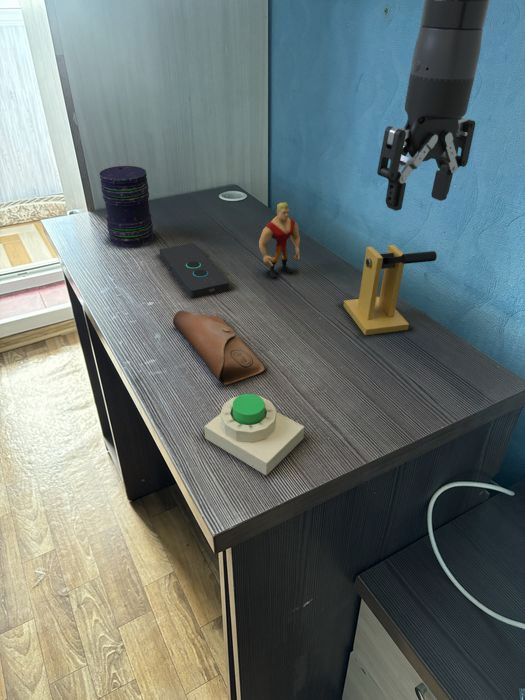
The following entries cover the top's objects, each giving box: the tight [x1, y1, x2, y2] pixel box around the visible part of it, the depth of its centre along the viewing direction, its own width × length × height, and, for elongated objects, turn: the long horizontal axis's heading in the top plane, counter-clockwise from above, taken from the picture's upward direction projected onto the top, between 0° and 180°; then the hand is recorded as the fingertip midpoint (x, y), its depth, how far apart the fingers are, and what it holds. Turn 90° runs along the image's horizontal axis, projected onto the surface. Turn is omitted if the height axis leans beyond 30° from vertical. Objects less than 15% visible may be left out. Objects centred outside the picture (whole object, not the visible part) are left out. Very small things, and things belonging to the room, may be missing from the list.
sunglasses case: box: [172, 309, 266, 386], centre depth 82 cm, size 18×7×7 cm, turn 30°
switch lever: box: [379, 250, 438, 270], centre depth 81 cm, size 13×5×2 cm, turn 15°
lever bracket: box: [343, 244, 410, 336], centre depth 89 cm, size 10×8×13 cm
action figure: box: [258, 201, 301, 279], centre depth 101 cm, size 10×4×15 cm, turn 123°
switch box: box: [204, 395, 305, 476], centre depth 66 cm, size 10×8×4 cm
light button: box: [233, 393, 265, 425], centre depth 65 cm, size 4×4×2 cm
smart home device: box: [158, 242, 230, 299], centre depth 105 cm, size 8×2×20 cm
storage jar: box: [99, 165, 154, 249], centre depth 113 cm, size 10×10×15 cm
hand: (416, 203), depth 72 cm, fingers open, 8 cm apart
